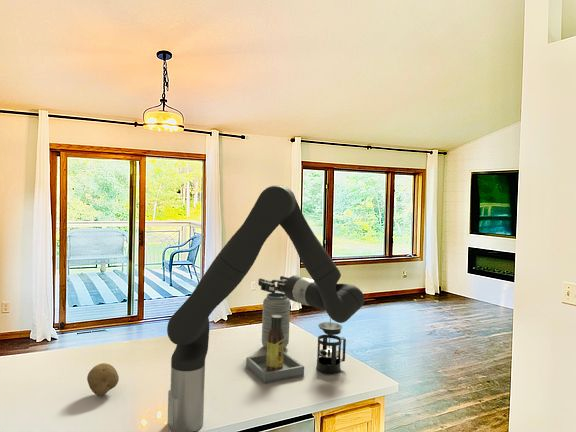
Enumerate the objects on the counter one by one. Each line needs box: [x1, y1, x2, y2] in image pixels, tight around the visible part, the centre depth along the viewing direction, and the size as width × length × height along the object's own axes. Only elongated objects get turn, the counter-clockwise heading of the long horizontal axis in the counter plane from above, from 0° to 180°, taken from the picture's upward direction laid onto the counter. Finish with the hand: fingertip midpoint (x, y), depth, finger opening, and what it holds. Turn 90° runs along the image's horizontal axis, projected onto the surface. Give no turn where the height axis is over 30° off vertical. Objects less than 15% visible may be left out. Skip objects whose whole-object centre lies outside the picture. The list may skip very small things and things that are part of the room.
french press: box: [315, 310, 347, 376], centre depth 158 cm, size 12×9×23 cm
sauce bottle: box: [266, 315, 285, 371], centre depth 154 cm, size 6×6×20 cm
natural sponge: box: [86, 363, 119, 397], centre depth 132 cm, size 9×9×10 cm
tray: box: [245, 351, 305, 385], centre depth 155 cm, size 16×16×4 cm
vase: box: [261, 292, 291, 351], centre depth 178 cm, size 12×12×23 cm
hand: (270, 280), depth 134 cm, fingers open, 8 cm apart
